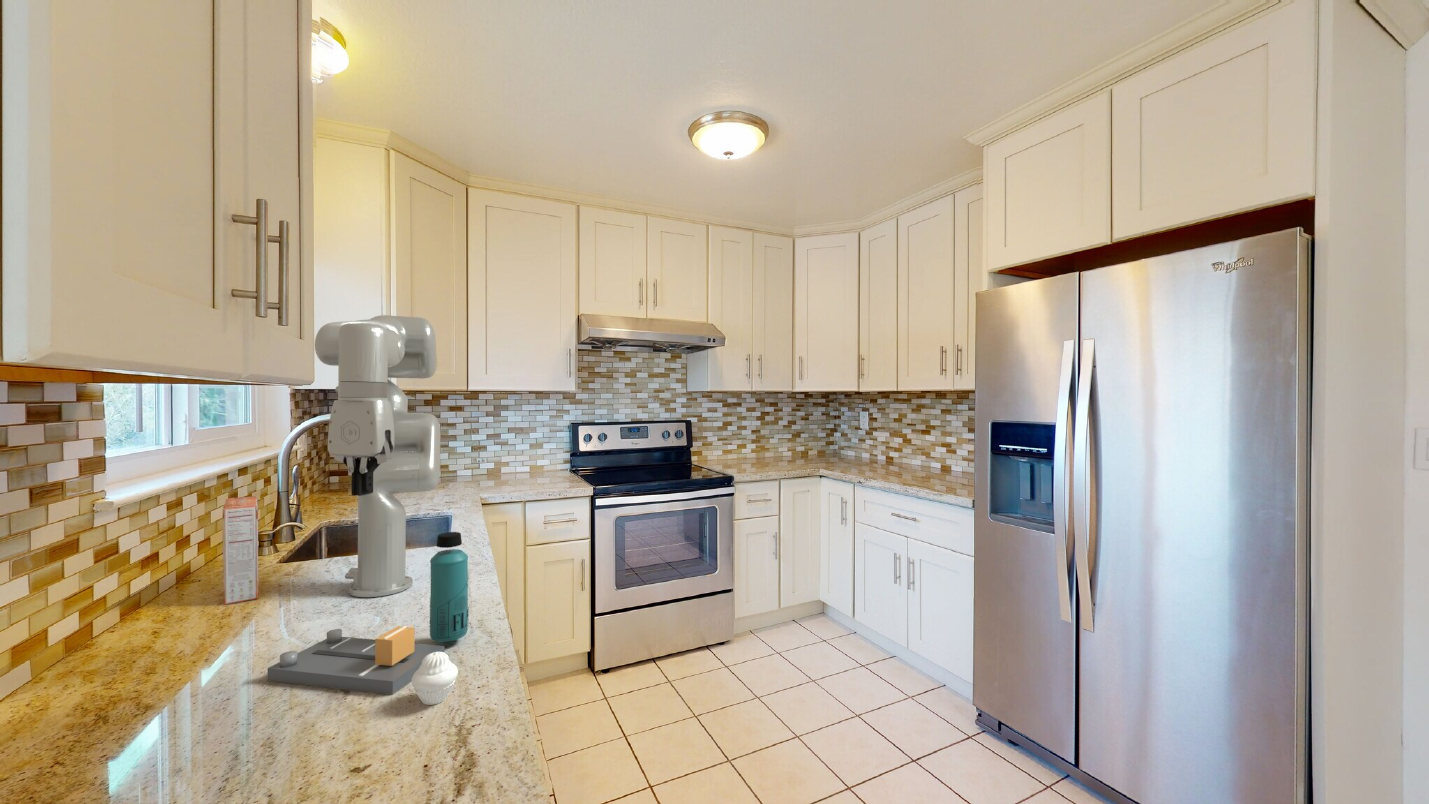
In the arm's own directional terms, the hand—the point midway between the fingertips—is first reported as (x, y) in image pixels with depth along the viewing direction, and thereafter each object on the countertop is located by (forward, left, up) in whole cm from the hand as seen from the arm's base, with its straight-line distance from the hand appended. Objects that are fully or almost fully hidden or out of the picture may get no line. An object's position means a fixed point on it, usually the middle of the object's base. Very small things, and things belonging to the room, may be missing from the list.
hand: (362, 494), depth 99 cm
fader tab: (+13, -8, -25) cm, 29 cm away
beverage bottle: (+15, +3, -27) cm, 31 cm away
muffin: (+25, -14, -27) cm, 40 cm away
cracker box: (-46, +17, -27) cm, 56 cm away
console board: (+7, -8, -27) cm, 29 cm away
